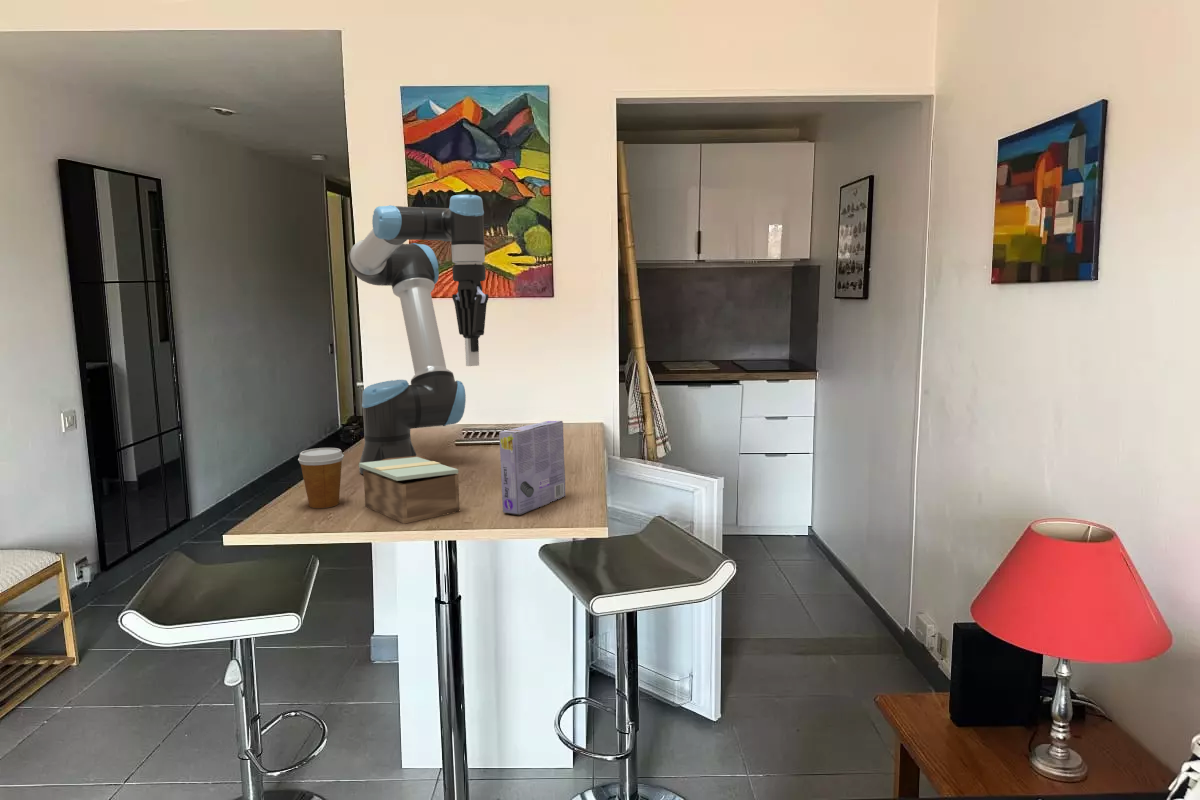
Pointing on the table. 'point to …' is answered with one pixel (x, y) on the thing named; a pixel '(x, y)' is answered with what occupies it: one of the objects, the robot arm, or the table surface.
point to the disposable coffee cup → (322, 476)
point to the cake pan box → (532, 466)
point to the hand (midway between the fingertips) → (472, 365)
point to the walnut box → (411, 496)
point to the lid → (408, 468)
